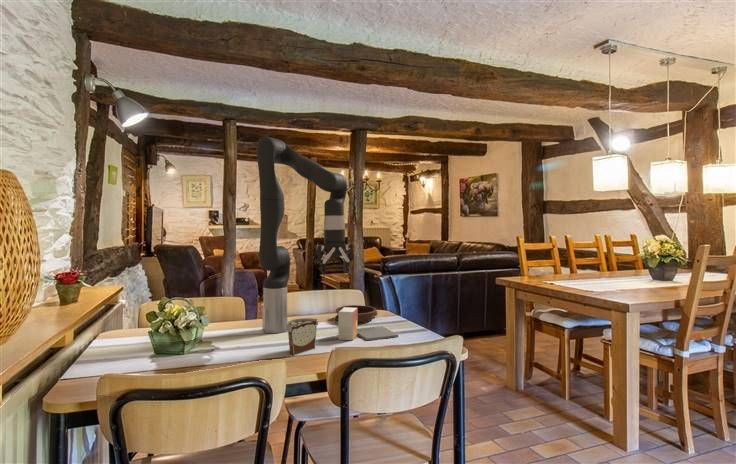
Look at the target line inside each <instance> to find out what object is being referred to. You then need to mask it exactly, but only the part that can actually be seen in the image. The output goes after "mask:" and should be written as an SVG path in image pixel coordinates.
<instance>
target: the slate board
mask: <svg viewBox="0 0 736 464" xmlns="http://www.w3.org/2000/svg"><path fill="white" fill-rule="evenodd" d="M357 336H358V337H360V338H362V339H363V340H365V341H367V342H368V341H369V342H370V341H377V340H383V339H393V338H398V337H399V334H397V333H395V332H394V331H392V330H390V329H388V328H386V327H385V326H383V325H381V326H380V325H379V326H371V327H362V328H357Z"/></svg>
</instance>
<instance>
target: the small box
mask: <svg viewBox="0 0 736 464" xmlns="http://www.w3.org/2000/svg"><path fill="white" fill-rule="evenodd" d="M337 315H338V321H337V324H338V325H337V326H338V328H337V329H338V332H337V333H338V340H339V341H340V340H341V341H343V340H344V341H353V340H354V339H355V338H356V337H357V336H358V335H357V329H358V323H357V317H358V308H350V307H344V308H343V309H342V310H340V311H339V312H338V313H337Z"/></svg>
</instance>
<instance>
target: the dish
mask: <svg viewBox="0 0 736 464" xmlns="http://www.w3.org/2000/svg"><path fill="white" fill-rule="evenodd" d="M344 307H350V308H358V317H357V324H361V323H362V324H363V323H367V322H370V321H372V320H373V318H374V317H375V316H378V311H377V308H376V307H374V306H371V305H370V306H369V305H361V304H360V305H354V304H351V305H350V304H349V305H343V306H340V307H337V308H336V309H335V312H336V314H337V315H335V317H334V321H335V322H338V312H339V311H340V310H342V309H343V308H344Z"/></svg>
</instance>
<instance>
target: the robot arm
mask: <svg viewBox="0 0 736 464" xmlns="http://www.w3.org/2000/svg"><path fill="white" fill-rule="evenodd" d="M255 151H256V161H257V167H258V177H259V178H258V179H259V180H258V181H259V182H258V183H259V213H260V235H259V236H260V239H259V250H258V259H259V260H258V261H259V264H260V266H261V268H262V269H263V270H265V271H267V272H268V271H269V275H267V277H266V278H264V280H263V283H262V285H263V288H262V289H263V299H262V300H263V301H262V302H263V305H262V306H261V307H262V312H261V313H262V317H261V318H262V321H261V323H262V325H261V326H262V328H261V330H262V331H263V332H264V333H265V334H280V333H284V332H288V331H287V330H286V326H287V324H288V282H289V280H290V273H291V272H290V271H291V256H290V252H289V251H288V248H286V247H285V246H282V245H278V241H277V240H278V232H279V229H280V226H281V223H282V222H283V218H284V214H285V196H284V193H283V191H284V190H283V189H282V187H281V185H280V184H279V180H278V179H277V178H278V177H277V176H276V171H275V163H276V164H277V163H279V164H281V165H286V166H288V167H290V168H292V169H293V170H294V172H296V173H297V174H298V175H299V176H300V177H302V178H304V179H306V180H308V181H309V182H312V183H313V184H315V186H317V187H318V188H320V190H323V191H324V192H326V193H330V195H329V198H328V199H326V200H325V202H324V204H323V206H324V213H323V214H324V215H323V216H324V218H323V220H324V221H323V243H324V244H323V245H321V244H320V245H319V244H317V245H315V256H314V261H315V262H316V263H319V264H320V272H321V273H322V275H327V261H328V260H329V259H330V258H334V257H339V258H341V259H342V261H343V265H342V267H343V269H342V271H343V273H345V274H346V273H348V272H349V271H350V262H352V261H353V260H354V259H355V254H354V244H353V243H347V244H346V242H345V241H346V224H345V223H346V222H345V220H346V219H345V205H344V204H345V201H346V196H347V193H348V182H347V178H346V177H345V176H344V175H343V174H341V173H337V172H332V171H329V170H327V169H326V168H325V167H324V166H323V165H322V164H320V163H318V162H316V161H314V160H312V159H310V158H308V157H306V156H303V155H302V154H301V153H298V152H297V151H296V150H294V149H293V148H291V147H290V145H288V144H287V143H285V142H284V141H283V140H281V139H278V138H275V137H274V138H273V137H270V136H262V137H261V138H259V140H258V142H257V144H256V150H255ZM323 250H324V253H323V255H322V252H323ZM345 250H346V252H347V254H346V252H345Z"/></svg>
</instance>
